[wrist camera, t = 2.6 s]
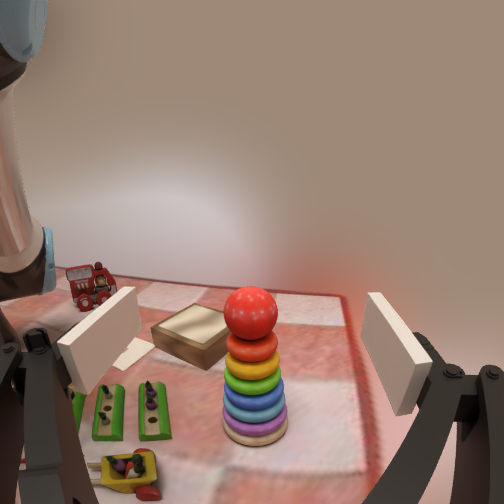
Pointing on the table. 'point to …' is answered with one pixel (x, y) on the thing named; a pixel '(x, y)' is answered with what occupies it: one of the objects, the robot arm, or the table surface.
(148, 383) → the toy garden set
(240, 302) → the stacking toy
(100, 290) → the toy fire truck
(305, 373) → the table surface
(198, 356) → the pedestal
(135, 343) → the page
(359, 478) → the table surface
